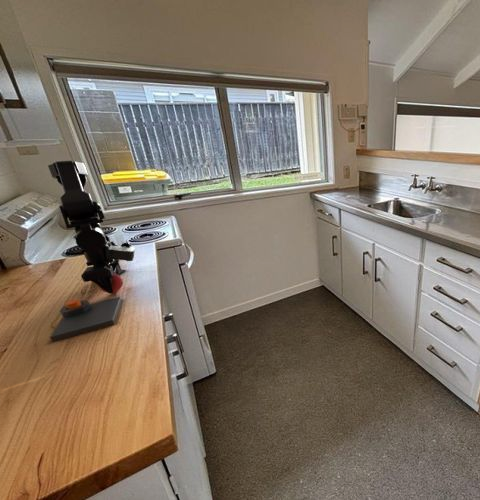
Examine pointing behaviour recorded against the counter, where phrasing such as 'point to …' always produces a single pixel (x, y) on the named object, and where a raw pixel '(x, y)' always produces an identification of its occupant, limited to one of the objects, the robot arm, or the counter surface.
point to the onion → (115, 283)
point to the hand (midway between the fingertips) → (113, 288)
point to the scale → (86, 318)
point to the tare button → (73, 303)
